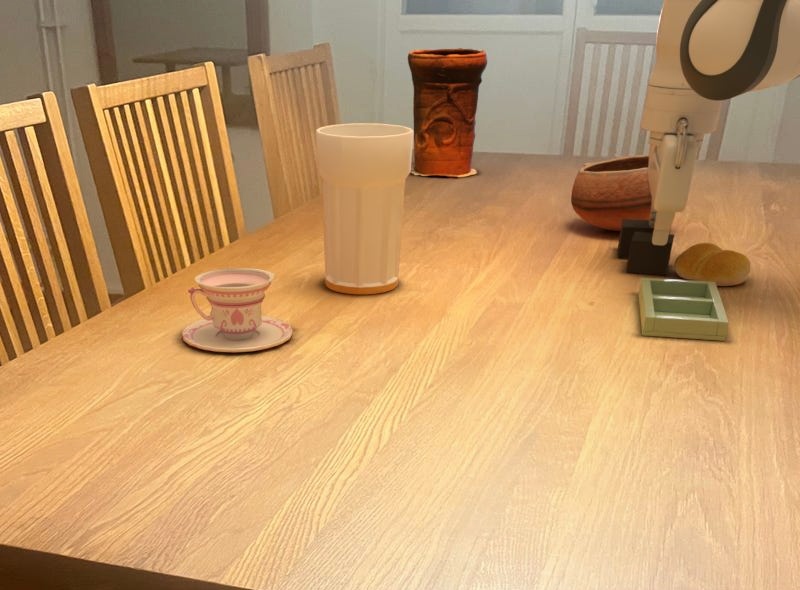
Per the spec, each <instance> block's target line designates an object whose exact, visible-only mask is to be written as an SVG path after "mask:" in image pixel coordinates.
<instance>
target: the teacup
mask: <svg viewBox="0 0 800 590" xmlns="http://www.w3.org/2000/svg"><path fill="white" fill-rule="evenodd" d="M273 280H275V274H274V273H273V272H271V271H269V270H266V269H261V268H252V267H227V268H220V269H213V270H209V271H205V272H202V273H200V274H198V275H196V276H195V278H194V282H195V283H196V284H197V285H198V287H199V288H195V287H191V288H190V289H188V290H187V292H188V293H189V294H190V297H189V298H190V301H191V304H192V306H193V307H194V309H195V311H196V312H197V313H198V314H199V315H200V316H201V318H203V319H200V320H196V321H194V322H193V323H190V324H189V325H187V326H186V327H185V328H184V329H183V330H182V332H181V334H182V335H181V336H182V340H183V341H184V342H185V343H186V344H188V345H189V346H191V347H194V348H197V349H201V350H205V351H211V352H215V353H216V352H217V353H246V352H256V351H261V350H267V349H271V348H274V347H276V346H280V345H282V344H284V343H286V342H287V341H289V340H290V339H291V337H292V335H293V334H294V331H293V328H292V326H291V325H290V324H289V323H287V322H286V321H284V320H283V319H280V318H275V317H272V316H267V315H262V304H263V301H264V299H265V298H266V294H265V292H267V290H268V289H269V288H270V286H271V284H272V281H273ZM198 294H199V295H202V296H204V297H206V300H207V301H208V303H209V304H210V307H211V309H210V313H209V315H206V314H205V313H204V311H202V310H201V309H200V307H199V305H198V304H197V302H196V296H197V295H198Z"/></svg>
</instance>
